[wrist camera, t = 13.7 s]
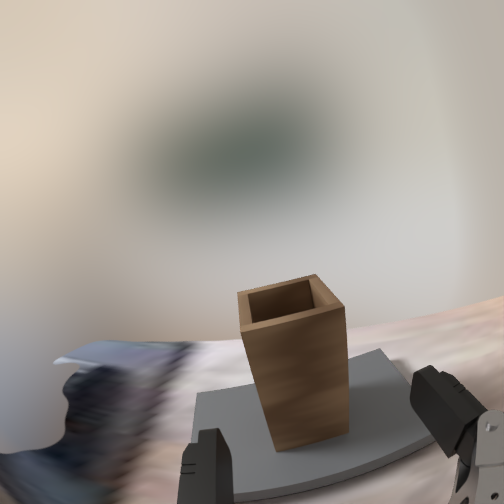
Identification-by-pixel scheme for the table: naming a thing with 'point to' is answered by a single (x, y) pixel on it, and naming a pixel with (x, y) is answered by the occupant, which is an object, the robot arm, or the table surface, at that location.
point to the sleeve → (298, 359)
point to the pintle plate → (324, 452)
